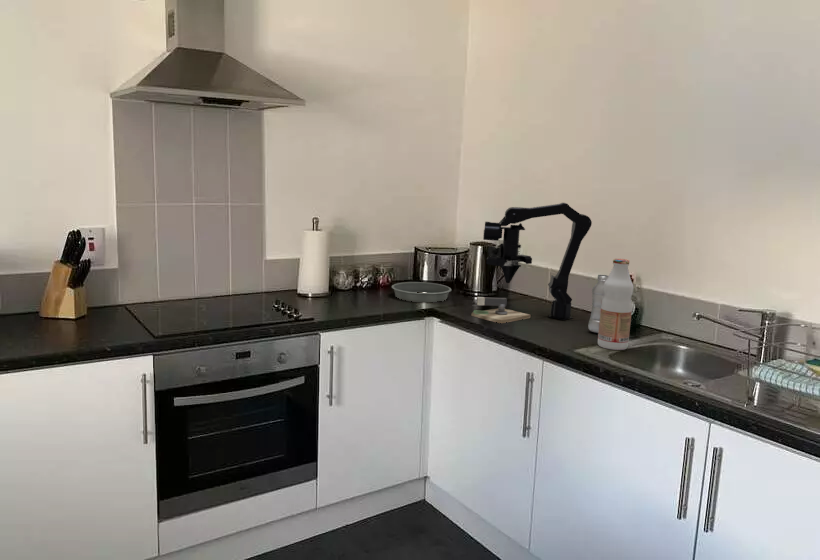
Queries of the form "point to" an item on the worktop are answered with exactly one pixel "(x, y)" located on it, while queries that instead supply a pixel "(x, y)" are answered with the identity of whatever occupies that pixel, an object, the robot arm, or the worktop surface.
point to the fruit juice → (616, 308)
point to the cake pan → (411, 288)
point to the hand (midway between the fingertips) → (507, 283)
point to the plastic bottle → (597, 303)
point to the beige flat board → (500, 315)
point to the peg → (493, 302)
